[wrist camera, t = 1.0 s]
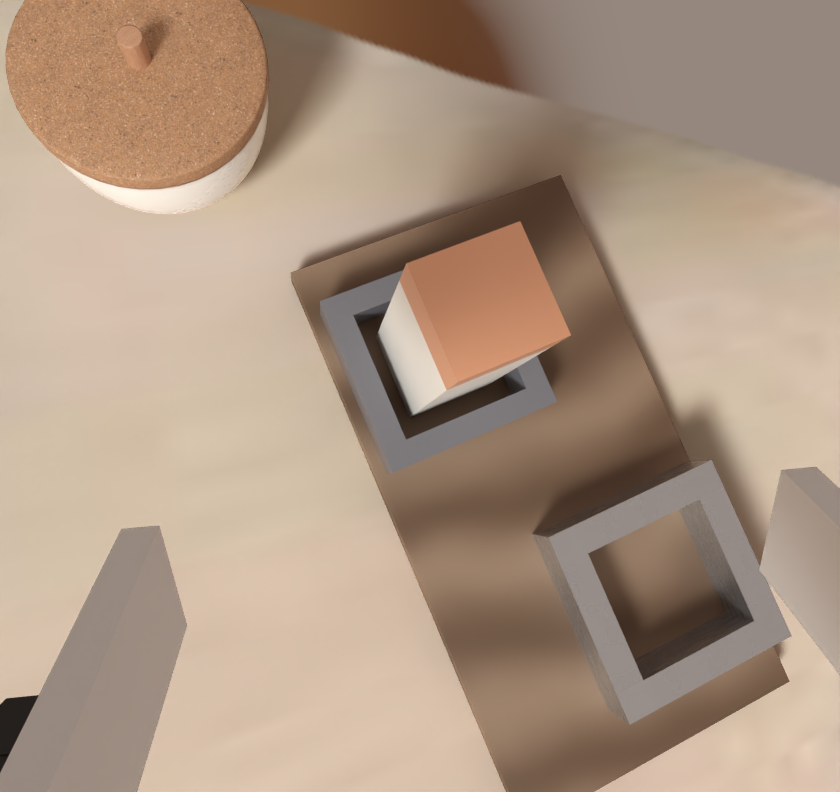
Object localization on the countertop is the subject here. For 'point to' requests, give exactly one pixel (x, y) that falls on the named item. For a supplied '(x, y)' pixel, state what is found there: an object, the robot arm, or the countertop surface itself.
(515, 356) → the plug
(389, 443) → the frame
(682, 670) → the port
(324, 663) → the countertop surface
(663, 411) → the walnut board
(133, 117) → the lidded jar
